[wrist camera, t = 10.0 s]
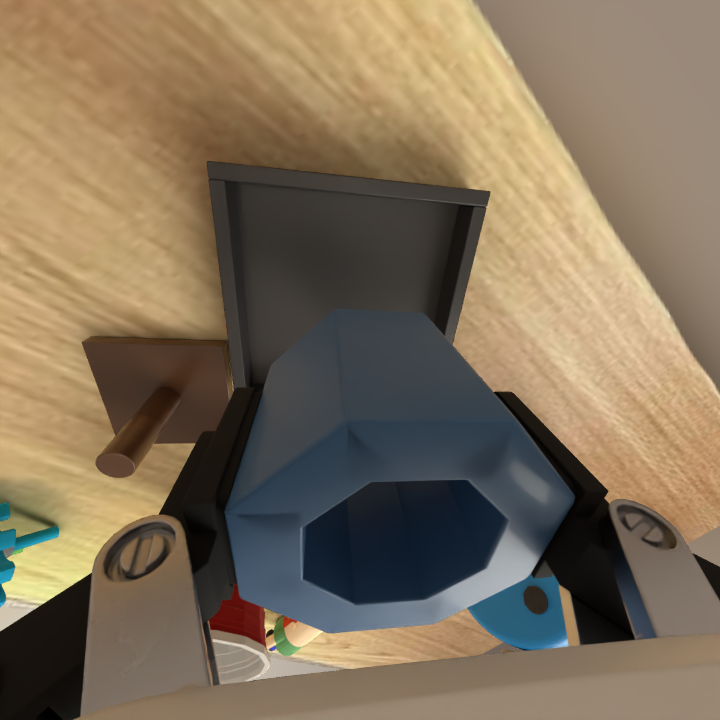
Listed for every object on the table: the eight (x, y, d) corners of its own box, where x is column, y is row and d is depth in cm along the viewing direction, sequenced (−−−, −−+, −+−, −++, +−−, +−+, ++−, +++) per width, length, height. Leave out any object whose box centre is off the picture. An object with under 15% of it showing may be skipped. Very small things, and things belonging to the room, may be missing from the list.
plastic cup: (161, 532, 31) (80, 702, 21) (195, 463, 28) (116, 627, 17) (262, 554, 35) (236, 708, 24) (304, 495, 31) (295, 648, 21)
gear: (-14, 476, 24) (-9, 620, 21) (79, 462, 29) (93, 575, 26) (-74, 519, 27) (-77, 649, 24) (20, 499, 32) (27, 603, 30)
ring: (267, 304, 9) (205, 420, 4) (483, 315, 10) (626, 421, 5) (276, 470, 13) (246, 641, 8) (440, 467, 13) (505, 619, 9)
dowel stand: (90, 336, 21) (-15, 399, 15) (226, 340, 22) (186, 401, 16) (125, 435, 25) (55, 520, 19) (238, 435, 27) (210, 514, 20)
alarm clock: (462, 537, 38) (537, 720, 24) (430, 519, 35) (495, 711, 22) (554, 477, 34) (699, 654, 21) (525, 451, 32) (671, 634, 18)
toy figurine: (298, 609, 45) (342, 572, 41) (308, 647, 43) (356, 612, 38) (245, 632, 40) (288, 593, 35) (252, 678, 37) (300, 641, 32)
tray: (222, 165, 18) (205, 160, 15) (470, 192, 20) (491, 191, 17) (244, 387, 24) (236, 408, 22) (426, 389, 27) (436, 409, 24)
